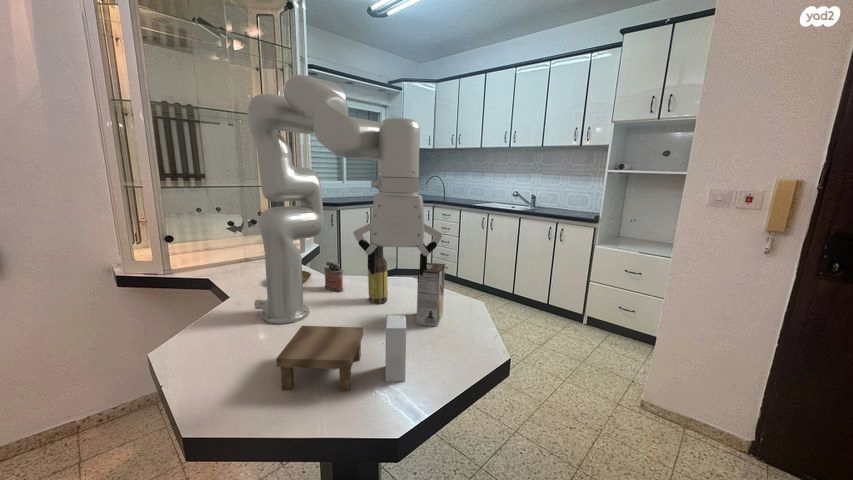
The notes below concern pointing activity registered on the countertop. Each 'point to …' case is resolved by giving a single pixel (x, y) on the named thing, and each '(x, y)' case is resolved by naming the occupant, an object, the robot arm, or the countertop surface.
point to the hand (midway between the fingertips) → (397, 273)
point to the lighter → (333, 277)
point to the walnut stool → (321, 352)
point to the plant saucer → (305, 276)
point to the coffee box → (430, 295)
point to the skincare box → (395, 348)
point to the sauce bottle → (378, 279)
